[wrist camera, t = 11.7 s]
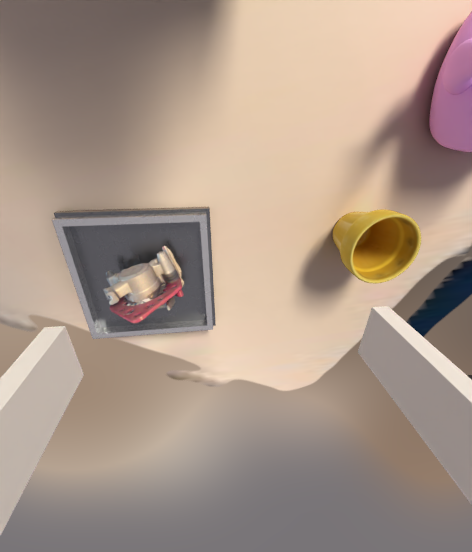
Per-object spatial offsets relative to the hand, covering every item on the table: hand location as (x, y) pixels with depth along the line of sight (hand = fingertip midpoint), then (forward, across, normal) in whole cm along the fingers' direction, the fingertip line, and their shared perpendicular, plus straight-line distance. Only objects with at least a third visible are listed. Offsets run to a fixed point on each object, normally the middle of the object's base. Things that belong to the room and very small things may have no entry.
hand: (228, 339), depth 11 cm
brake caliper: (+30, -10, -12) cm, 34 cm away
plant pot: (+31, +24, -5) cm, 40 cm away
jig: (+31, -11, -12) cm, 35 cm away
